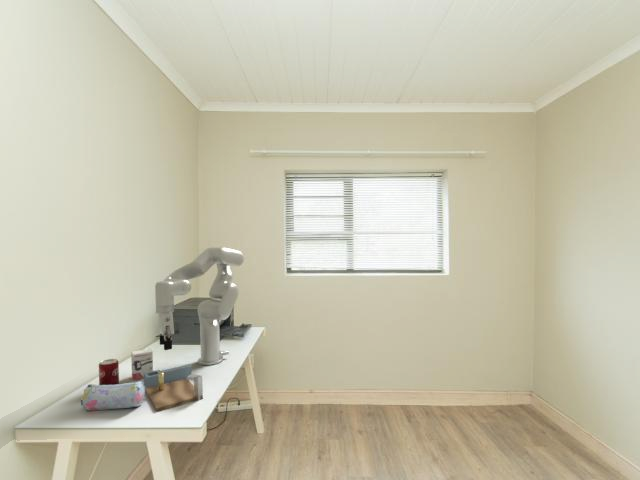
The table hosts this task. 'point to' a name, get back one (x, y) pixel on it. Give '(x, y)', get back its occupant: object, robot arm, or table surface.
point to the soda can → (109, 372)
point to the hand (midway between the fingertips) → (165, 346)
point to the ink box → (141, 363)
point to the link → (167, 375)
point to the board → (171, 394)
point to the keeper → (197, 385)
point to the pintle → (161, 381)
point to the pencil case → (113, 396)
